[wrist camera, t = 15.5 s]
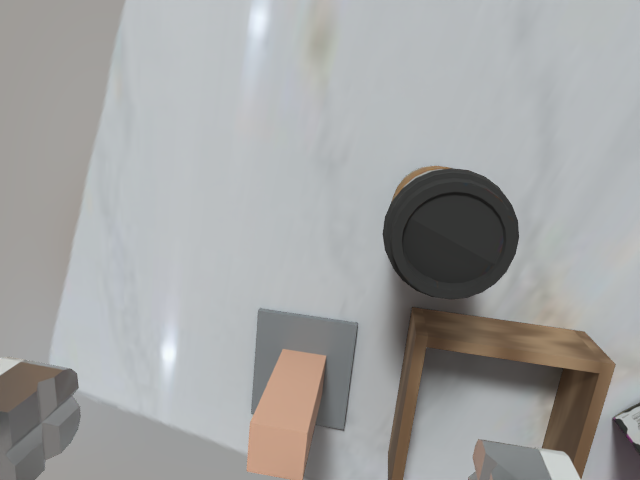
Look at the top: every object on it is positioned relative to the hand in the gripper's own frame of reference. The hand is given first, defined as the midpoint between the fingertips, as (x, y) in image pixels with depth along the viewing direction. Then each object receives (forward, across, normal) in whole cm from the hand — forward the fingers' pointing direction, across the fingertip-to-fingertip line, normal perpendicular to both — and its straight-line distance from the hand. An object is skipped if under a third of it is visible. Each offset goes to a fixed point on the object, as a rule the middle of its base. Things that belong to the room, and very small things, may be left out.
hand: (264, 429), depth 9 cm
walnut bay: (+35, -14, +20) cm, 42 cm away
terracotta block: (+34, +4, +20) cm, 39 cm away
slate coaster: (+34, +4, +20) cm, 40 cm away
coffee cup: (+35, -6, +1) cm, 35 cm away
